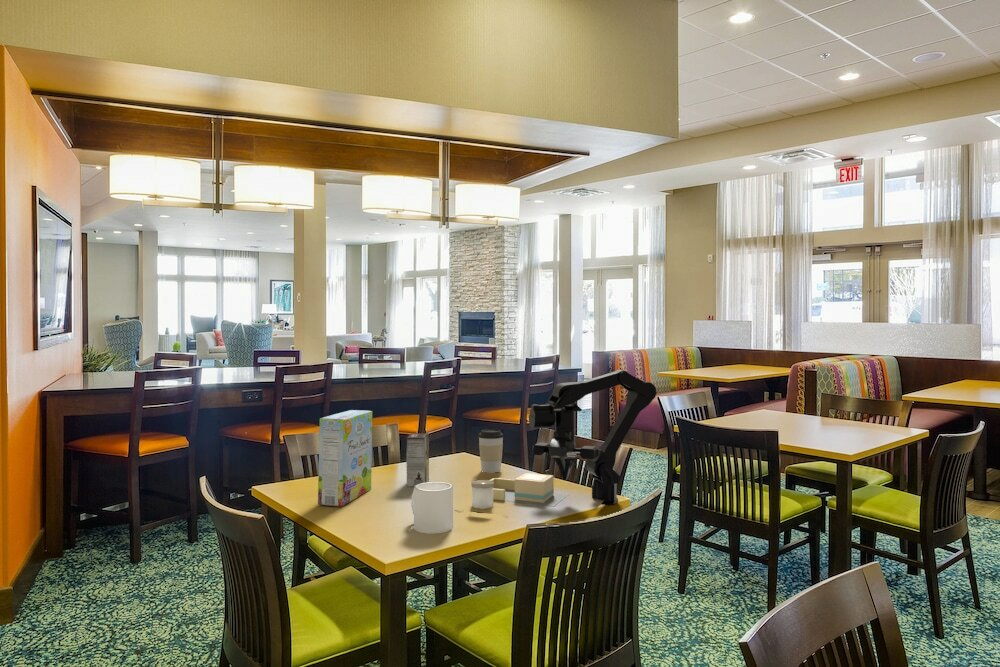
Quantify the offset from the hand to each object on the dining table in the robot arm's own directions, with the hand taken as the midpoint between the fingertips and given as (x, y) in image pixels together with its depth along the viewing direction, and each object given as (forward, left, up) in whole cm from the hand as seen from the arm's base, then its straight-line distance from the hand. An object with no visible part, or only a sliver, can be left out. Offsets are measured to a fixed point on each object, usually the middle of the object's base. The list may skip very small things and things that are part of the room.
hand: (565, 480), depth 192 cm
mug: (+26, +33, -8) cm, 43 cm away
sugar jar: (+20, +14, -7) cm, 26 cm away
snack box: (+64, +18, -8) cm, 67 cm away
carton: (+10, 0, -6) cm, 11 cm away
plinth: (+14, 0, -7) cm, 15 cm away
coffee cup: (+38, -32, -8) cm, 50 cm away
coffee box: (+53, -6, -8) cm, 54 cm away
